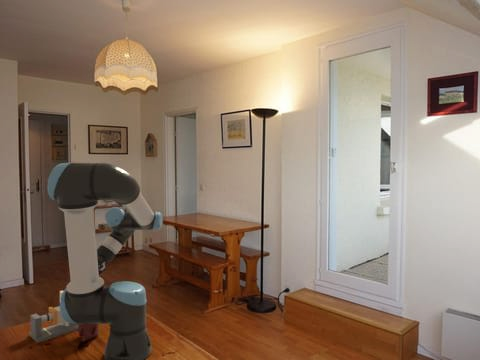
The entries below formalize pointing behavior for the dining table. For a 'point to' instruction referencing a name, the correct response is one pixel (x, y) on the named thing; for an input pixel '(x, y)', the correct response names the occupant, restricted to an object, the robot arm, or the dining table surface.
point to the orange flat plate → (54, 311)
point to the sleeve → (59, 316)
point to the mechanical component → (88, 331)
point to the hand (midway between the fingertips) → (68, 299)
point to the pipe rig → (48, 328)
